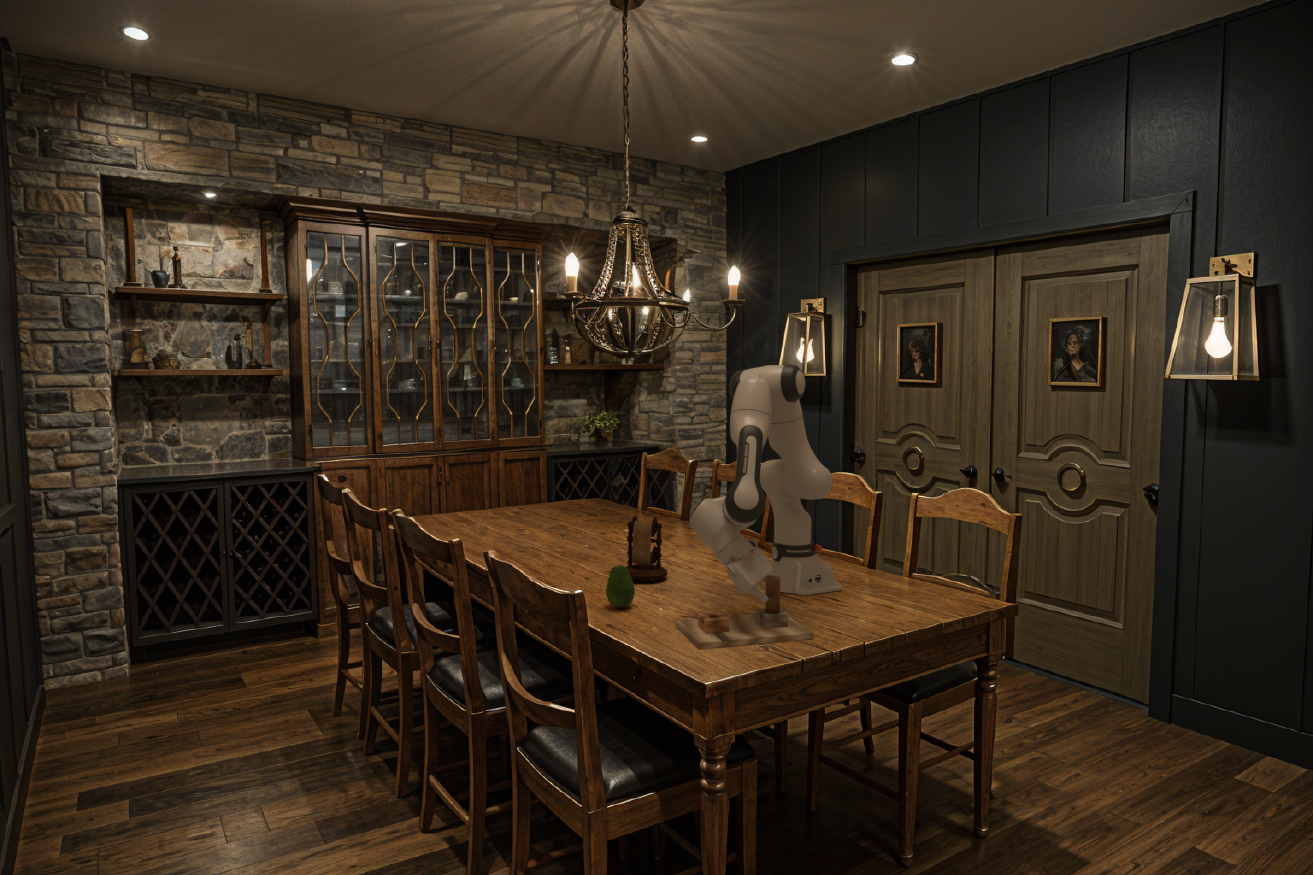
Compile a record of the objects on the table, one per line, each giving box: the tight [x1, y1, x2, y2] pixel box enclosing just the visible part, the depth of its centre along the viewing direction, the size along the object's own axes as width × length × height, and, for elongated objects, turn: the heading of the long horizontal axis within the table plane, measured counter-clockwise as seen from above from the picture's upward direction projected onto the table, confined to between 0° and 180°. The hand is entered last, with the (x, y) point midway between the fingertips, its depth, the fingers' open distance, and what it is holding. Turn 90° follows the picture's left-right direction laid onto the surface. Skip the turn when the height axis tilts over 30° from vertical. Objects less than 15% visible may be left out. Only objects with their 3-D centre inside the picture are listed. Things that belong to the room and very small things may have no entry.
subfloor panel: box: [675, 608, 815, 650], centre depth 201 cm, size 30×18×5 cm, turn 107°
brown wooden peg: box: [764, 574, 781, 614], centre depth 203 cm, size 4×4×12 cm
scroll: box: [625, 515, 668, 585], centre depth 252 cm, size 15×15×20 cm
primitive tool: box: [756, 538, 773, 554], centre depth 293 cm, size 19×6×4 cm, turn 24°
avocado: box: [605, 564, 636, 609], centre depth 220 cm, size 8×8×12 cm
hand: (772, 596), depth 203 cm, fingers open, 8 cm apart
